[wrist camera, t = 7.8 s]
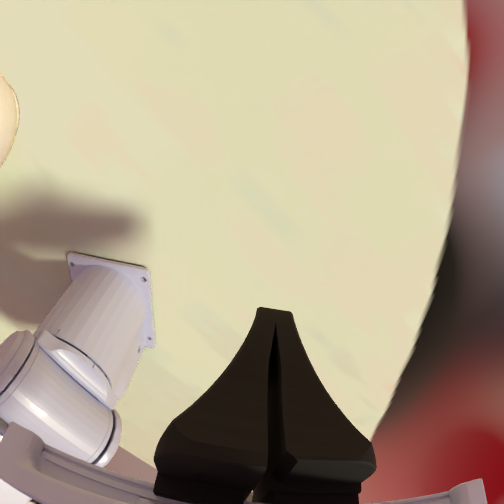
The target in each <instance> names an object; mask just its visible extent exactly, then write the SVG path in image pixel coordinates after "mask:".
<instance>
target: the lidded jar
mask: <svg viewBox="0 0 504 504" xmlns="http://www.w3.org/2000/svg"><path fill="white" fill-rule="evenodd" d="M19 114H20V113H19V104H18V100H17V96H16V94H15V92H14V90H13V88H12V87H11V86H10V85H9V84H8V82H7V81H6V80H5V78H4V77H3V76H2V75H1V74H0V168H1V166H2V165H3V163H4V162H5V160H6V158H7V156H8V154H9V152H10V150H11V147H12V144H13V141H14V137H15V135H16V132H17V129H18V125H19Z"/></svg>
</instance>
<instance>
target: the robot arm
mask: <svg viewBox="0 0 504 504" xmlns="http://www.w3.org/2000/svg"><path fill="white" fill-rule="evenodd" d="M67 260H68V265H69V270H70V275H71V279H72V283H71V284H70V286H69V287H68V288H67V290H66V291H65V292H64V293H63V295H62V296H61V297H60V299H59V300H58V301H57V302H56V304H55V305H54V306H53V308H52V309H51V310H50V312H49V313H48V314H47V316H46V317H45V319H44V320H43V321H42V323H41V324H40V325H39V327H38V328H37V330H36V331H35V332H34V334H33V335H32V333H31V332H30V331H28V330H25V331H16V332H14V333H13V334H11V335H10V336H9V337H8V338H7V339H6V340H5V341H4V342H3V343H2V344H1V345H0V504H28V502H29V501H30V500H31V498H32V499H33V500H35V501H37V502H39V503H41V504H359V500H358V499H359V498H358V493H360V492H361V482H363V481H364V480H365V479H367V478H368V477H370V476H371V475H372V474H373V473H374V472H375V471H376V459H375V454H374V450H373V446H372V443H371V442H370V441H369V440H368V439H367V438H366V437H364V436H363V435H362V434H361V433H360V432H359V431H358V430H357V429H356V428H355V427H354V426H353V424H352V423H351V422H350V421H349V420H348V419H347V418H346V416H345V415H344V414H343V413H342V411H341V410H340V409H339V408H338V406H337V405H336V404H335V402H334V401H333V400H332V398H331V397H330V395H329V394H328V392H327V391H326V389H325V388H324V386H323V384H322V383H321V381H320V379H319V378H318V376H317V374H316V372H315V370H314V368H313V366H312V364H311V362H310V360H309V358H308V356H307V354H306V351H305V349H304V347H303V344H302V342H301V339H300V337H299V334H298V331H297V328H296V325H295V322H294V318H293V314H292V313H291V312H289V311H283V310H276V309H270V308H264V307H259V308H257V311H256V316H255V319H254V322H253V325H252V327H251V329H250V331H249V333H248V335H247V337H246V339H245V341H244V343H243V344H242V346H241V348H240V349H239V351H238V352H237V354H236V355H235V357H234V358H233V360H232V361H231V363H230V364H229V365H228V367H227V368H226V369H225V371H224V372H223V373H222V374H221V376H220V377H219V378H218V379H217V380H216V381H215V382H214V384H213V385H212V386H211V387H210V388H209V389H208V390H207V391H206V392H205V393H204V394H203V395H202V396H201V397H200V398H199V399H198V400H197V401H196V402H194V403H193V404H192V405H191V406H190V407H189V408H188V409H186V410H185V411H184V412H183V413H181V414H180V415H179V416H177V417H176V418H175V419H174V420H172V422H171V423H170V425H169V426H168V427H167V429H166V430H165V432H164V433H163V435H162V437H161V438H160V440H159V442H158V445H157V448H156V451H155V455H154V463H155V465H156V468H157V470H158V473H157V477H156V481H155V484H153V483H149V482H145V481H142V480H138V479H135V478H132V477H129V476H125V475H122V474H119V473H116V472H113V471H110V470H107V469H104V468H103V467H104V466H105V465H106V464H107V463H108V462H109V461H110V460H111V459H112V457H113V456H114V454H115V452H116V451H117V448H118V446H119V443H120V439H121V432H122V422H121V418H120V416H119V414H118V412H117V411H116V410H114V407H115V405H116V402H117V400H119V399H120V398H121V397H122V396H123V395H124V393H125V392H126V390H127V388H128V385H129V383H130V380H131V378H132V376H133V373H134V371H135V368H136V366H137V364H138V361H139V359H140V356H141V354H142V352H143V349H144V347H147V348H154V347H155V345H156V341H155V331H154V319H153V306H152V292H151V274H150V271H149V269H147V268H145V267H141V266H135V265H130V264H125V263H120V262H116V261H111V260H106V259H101V258H96V257H91V256H87V255H82V254H77V253H73V252H71V253H69V254H68V255H67ZM73 263H74V264H73ZM143 277H144V278H146V280H145V279H143ZM252 490H253V496H252V502H248V501H246V499H247V498H248V496H249V494H250V493H251V491H252ZM367 504H487V501H486V496H485V491H484V486H483V481H482V479H476V480H473V481H469V482H465V483H462V484H460V485H457V486H455V487H454V488H452V489H451V490H450V491H447V492H442V493H437V494H432V495H427V496H422V497H416V498H409V499H403V500H395V501H387V502H378V503H367Z"/></svg>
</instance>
